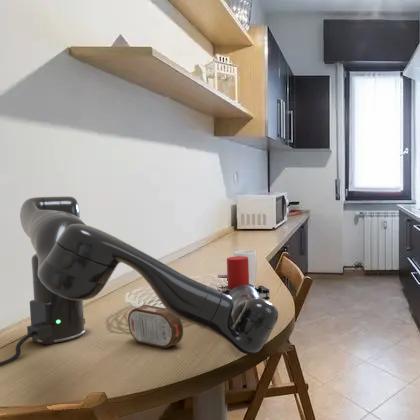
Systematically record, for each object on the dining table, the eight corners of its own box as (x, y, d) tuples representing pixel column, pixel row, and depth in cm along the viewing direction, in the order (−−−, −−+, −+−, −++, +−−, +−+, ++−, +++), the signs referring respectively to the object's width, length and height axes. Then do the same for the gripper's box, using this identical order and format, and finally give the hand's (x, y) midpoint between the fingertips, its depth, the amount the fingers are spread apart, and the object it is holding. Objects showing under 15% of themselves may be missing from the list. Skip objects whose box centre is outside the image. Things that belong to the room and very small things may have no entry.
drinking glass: (251, 303, 128) (250, 253, 127) (230, 302, 129) (229, 253, 128) (261, 297, 135) (260, 250, 134) (241, 296, 136) (240, 249, 135)
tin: (184, 346, 94) (183, 309, 94) (172, 352, 92) (171, 313, 91) (138, 337, 101) (137, 302, 100) (126, 341, 98) (124, 305, 97)
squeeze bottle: (235, 255, 116) (237, 310, 117) (222, 259, 111) (224, 315, 112) (252, 256, 114) (254, 311, 115) (239, 260, 109) (241, 317, 110)
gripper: (212, 324, 97) (209, 305, 112) (276, 316, 102) (265, 299, 118) (211, 292, 96) (208, 277, 112) (275, 285, 102) (264, 272, 117)
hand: (238, 288), depth 115 cm, fingers closed on squeeze bottle, 5 cm apart
